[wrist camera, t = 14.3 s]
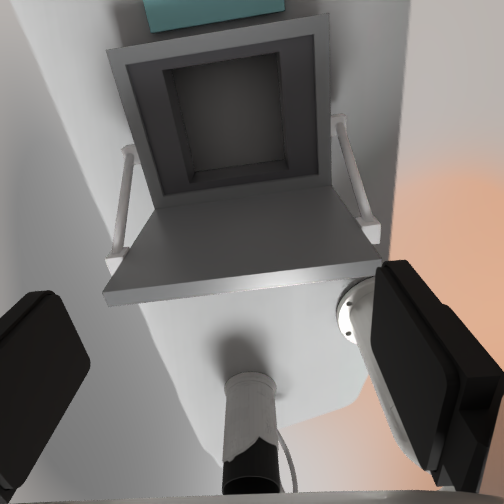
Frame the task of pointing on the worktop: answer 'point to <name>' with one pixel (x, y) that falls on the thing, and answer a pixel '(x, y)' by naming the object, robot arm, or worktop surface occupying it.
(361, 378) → the worktop surface
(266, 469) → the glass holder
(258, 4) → the mat
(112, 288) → the case
